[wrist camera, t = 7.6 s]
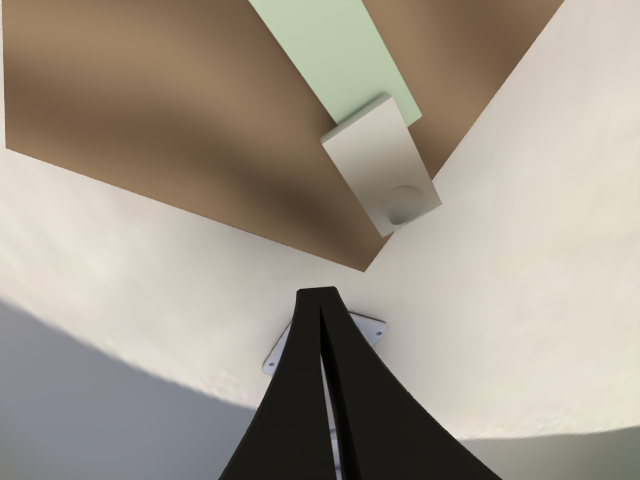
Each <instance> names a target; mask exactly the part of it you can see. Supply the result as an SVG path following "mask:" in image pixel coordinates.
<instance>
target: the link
mask: <svg viewBox="0 0 640 480" xmlns="http://www.w3.org/2000/svg"><path fill="white" fill-rule="evenodd" d="M249 2H250V3H251V4H252V6H253V7H254V9H255V10H256V11H257V13H258V14H259V16H260V17H261V18H262V20H263V21H264V23H265V24H266V25H267V27H268V28H269V30H270V31H271V32H272V34H273V35H274V37H275V38H276V39H277V41H278V42H279V44H280V45H281V46H282V48H283V49H284V51H285V52H286V53H287V55H288V56H289V58H290V59H291V60H292V62H293V63H294V65H295V66H296V67H297V69H298V70H299V72H300V73H301V74H302V76H303V77H304V79H305V80H306V82H307V83H308V84H309V86H310V87H311V89H312V90H313V91H314V93H315V94H316V96H317V97H318V98H319V100H320V101H321V103H322V104H323V105H324V107H325V108H326V110H327V111H328V112H329V114H330V115H331V117H332V118H333V119H334V121H335V122H336V124H337V125H340V124H341V123H343V122H344V121H346V120H347V119H349V118H350V117H351V116H353V115H354V114H356V113H357V112H359V111H360V110H362V109H363V108H365V107H366V106H368V105H369V104H370V103H372V102H373V101H375V100H376V99H378V98H379V97H381V96H382V95H384V94H385V93H388V94H390V95H391V96H393V98H394V100H395V102H396V105H397V107H398V109H399V111H400V113H401V116H402V118H403V120H404V122H405V124H406V127H408V126H409V125H411V124H412V123H413V122H415V121H416V120H417V119H419V118H420V117H421V116H422V114H421V112H420V110H419V108H418V106H417V105H416V103H415V101H414V99H413V97H412V95H411V93H410V91H409V89H408V88H407V86H406V84H405V82H404V80H403V78H402V76H401V74H400V72H399V71H398V69H397V67H396V65H395V63H394V61H393V59H392V57H391V55H390V54H389V52H388V50H387V48H386V46H385V44H384V42H383V40H382V38H381V37H380V35H379V33H378V31H377V29H376V27H375V25H374V23H373V21H372V20H371V18H370V16H369V14H368V12H367V10H366V8H365V6H364V5H363V3H362V1H361V0H249Z"/></svg>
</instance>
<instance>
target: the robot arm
mask: <svg viewBox="0 0 640 480" xmlns="http://www.w3.org/2000/svg"><path fill="white" fill-rule="evenodd" d="M387 329H388V327H387V325H386V324H385V323H383V322H379V321H376V320H372V319H369V318H365V317H362V316H358V315H355V314H351V313H349V312H348V310H347V308H346V307H345V305H344V303H343V301H342V299H341V297H340V295H339V292H338V290H337V288H336V287H334V286H331V287H319V288H306V289H299V290H298V291H297V294H296V305H295V310H294V315H293V319H292V322H291V323H290V325H289V326H288V328H287V329H286V331H285V332H284V334H283V335H282V337H281V338H280V340H279V342H278V343H277V345H276V346H275V348H274V349H273V351H272V352H271V354H270V355H269V357H268V359H267V360H266V362H265V363H264V365H263V366H262V372H263V373H266V374H271V375H272V380H271V382H270V384H269V387H268V389H267V391H266V393H265V395H264V398H263V400H262V402H261V404H260V406H259V408H258V410H257V412H256V414H255V416H254V418H253V420H252V422H251V424H250V426H249V427H248V429H247V431H246V433H245V435H244V437H243V438H242V440H241V442H240V443H239V445H238V447H237V449H236V450H235V452H234V454H233V456H232V458H231V459H230V461H229V463H228V465H227V466H226V468H225V469H224V471H223V473H222V475H221V476H220V478H219V479H218V480H502V479H501V478H500V477H499V476H498V475H496V474H495V473H494V472H493V471H492V470H490V469H489V468H488V467H487V466H485V465H484V464H483V463H482V462H481V461H480V460H479V459H477V458H476V457H475V456H474V455H473V454H472V453H471V452H470V451H468V450H467V449H466V448H465V447H464V446H463V445H461V444H460V443H459V442H458V441H457V440H456V439H455V438H454V437H453V436H452V435H451V434H450V433H449V432H448V431H446V430H445V429H444V428H443V427H442V426H441V425H440V424H439V423H438V422H437V421H436V420H435V419H434V418H433V417H432V416H431V415H430V414H429V413H428V412H427V411H426V410H425V409H424V408H423V407H422V406H421V405H420V404H419V403H418V402H417V401H416V400H415V399H414V398H413V397H412V395H411V394H410V393H409V392H408V391H407V390H406V389H405V388H404V387H403V386H402V384H401V383H400V382H399V381H398V380H397V379H396V377H395V376H394V375H393V374H392V373H391V372H390V370H389V369H388V368H387V367H386V365H385V364H384V363H383V362H382V360H381V359H380V358H379V357H378V355H377V354H376V352H375V351H374V350H373V348H372V347H373V346H374V344H375V343H376V342H377V341H378V340H379V339H380V338H381V337H382V335H383V334H384V333H385V332H386V331H387Z"/></svg>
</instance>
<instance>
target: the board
mask: <svg viewBox="0 0 640 480" xmlns="http://www.w3.org/2000/svg"><path fill="white" fill-rule="evenodd" d="M361 1H362V3H363V5H364V6H365V8H366V10H367V12H368V14H369V16H370V18H371V20H372V21H373V23H374V25H375V27H376V29H377V31H378V33H379V35H380V37H381V38H382V40H383V42H384V44H385V46H386V48H387V50H388V52H389V54H390V55H391V57H392V59H393V61H394V63H395V65H396V67H397V69H398V71H399V72H400V74H401V76H402V78H403V80H404V82H405V84H406V86H407V88H408V89H409V91H410V93H411V95H412V97H413V99H414V101H415V103H416V105H417V106H418V108H419V110H420V112H421V114H422V116H421V117H420V118H419V119H417V120H416V121H415V122H413V123H412V124H411V125H409V126H408V127H406V124H405V122H404V120H403V118H402V116H401V113H400V111H399V109H398V107H397V105H396V102H395V100H394V98H393V96H391V95H390V94H388V93H385V94H384V95H382V96H381V97H379V98H378V99H376V100H375V101H373V102H372V103H370V104H369V105H368V106H366V107H365V108H363V109H362V110H360V111H359V112H357V113H356V114H354V115H353V116H351V117H350V118H349V119H347V120H346V121H344V122H343V123H341V124H340V125H337V124H336V122H335V121H334V119H333V118H332V117H331V115H330V114H329V112H328V111H327V110H326V108H325V107H324V105H323V104H322V103H321V101H320V100H319V98H318V97H317V96H316V94H315V93H314V91H313V90H312V89H311V87H310V86H309V84H308V83H307V82H306V80H305V79H304V77H303V76H302V74H301V73H300V72H299V70H298V69H297V67H296V66H295V65H294V63H293V62H292V60H291V59H290V58H289V56H288V55H287V53H286V52H285V51H284V49H283V48H282V46H281V45H280V44H279V42H278V41H277V39H276V38H275V37H274V35H273V34H272V32H271V31H270V30H269V28H268V27H267V25H266V24H265V23H264V21H263V20H262V18H261V17H260V16H259V14H258V13H257V11H256V10H255V9H254V7H253V6H252V4H251V3H250V2H249V0H2V26H3V63H4V101H5V139H6V148H7V149H10V150H12V151H15V152H18V153H21V154H24V155H27V156H30V157H33V158H36V159H38V160H41V161H44V162H47V163H50V164H53V165H56V166H59V167H62V168H64V169H67V170H70V171H73V172H76V173H79V174H82V175H85V176H87V177H90V178H93V179H96V180H99V181H102V182H105V183H108V184H111V185H113V186H116V187H119V188H122V189H125V190H128V191H131V192H134V193H137V194H139V195H142V196H145V197H148V198H151V199H154V200H157V201H160V202H163V203H165V204H168V205H171V206H174V207H177V208H180V209H183V210H186V211H189V212H191V213H194V214H197V215H200V216H203V217H206V218H209V219H212V220H215V221H217V222H220V223H223V224H226V225H229V226H232V227H235V228H238V229H241V230H243V231H246V232H249V233H252V234H255V235H258V236H261V237H264V238H267V239H269V240H272V241H275V242H278V243H281V244H284V245H287V246H290V247H293V248H295V249H298V250H301V251H304V252H307V253H310V254H313V255H316V256H318V257H321V258H324V259H327V260H330V261H333V262H336V263H339V264H342V265H344V266H347V267H350V268H353V269H356V270H359V271H362V272H365V271H366V269H367V268H368V267H369V265H370V264H371V263H372V261H373V260H374V258H375V257H376V256H377V254H378V253H379V252H380V250H381V249H382V248H383V246H384V245H385V244H386V242H387V241H388V239H389V238H390V237H391V235H392V234H393V233H394V231H395V230H397V229H399V228H400V227H402V226H404V225H406V224H408V223H409V222H411V221H413V220H415V219H417V218H418V217H420V216H422V215H424V214H425V213H427V212H429V211H431V210H433V209H434V208H436V207H438V206H440V205H441V204H442V203H441V201H440V199H439V197H438V194H437V192H436V190H435V188H434V186H433V183H432V180H433V178H434V177H435V176H436V174H437V173H438V171H439V170H440V169H441V167H442V166H443V165H444V163H445V162H446V161H447V159H448V158H449V157H450V155H451V154H452V152H453V151H454V150H455V148H456V147H457V146H458V144H459V143H460V142H461V140H462V139H463V138H464V136H465V135H466V133H467V132H468V131H469V129H470V128H471V127H472V125H473V124H474V123H475V121H476V120H477V118H478V117H479V116H480V114H481V113H482V112H483V110H484V109H485V108H486V106H487V105H488V104H489V102H490V101H491V99H492V98H493V97H494V95H495V94H496V93H497V91H498V90H499V89H500V87H501V86H502V85H503V83H504V82H505V80H506V79H507V78H508V76H509V75H510V74H511V72H512V71H513V70H514V68H515V67H516V65H517V64H518V63H519V61H520V60H521V59H522V57H523V56H524V55H525V53H526V52H527V51H528V49H529V48H530V46H531V45H532V44H533V42H534V41H535V40H536V38H537V37H538V36H539V34H540V33H541V32H542V30H543V29H544V27H545V26H546V25H547V23H548V22H549V21H550V19H551V18H552V17H553V15H554V14H555V12H556V11H557V10H558V8H559V7H560V6H561V4H562V3H563V2H564V0H361Z"/></svg>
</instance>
